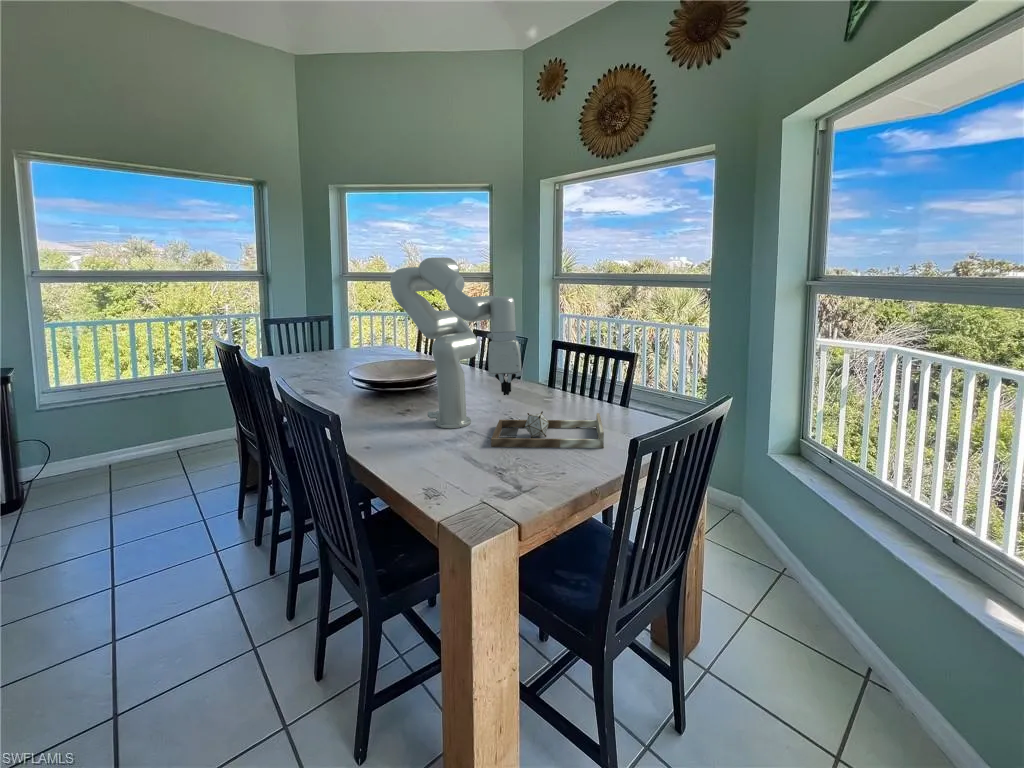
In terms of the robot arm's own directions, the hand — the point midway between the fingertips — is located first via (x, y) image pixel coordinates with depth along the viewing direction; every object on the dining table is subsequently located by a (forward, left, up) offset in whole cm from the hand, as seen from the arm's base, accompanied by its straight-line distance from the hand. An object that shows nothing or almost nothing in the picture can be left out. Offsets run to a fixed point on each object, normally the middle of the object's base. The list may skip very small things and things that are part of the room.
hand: (506, 394), depth 160 cm
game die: (+10, 0, -15) cm, 17 cm away
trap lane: (+13, 0, -14) cm, 19 cm away
